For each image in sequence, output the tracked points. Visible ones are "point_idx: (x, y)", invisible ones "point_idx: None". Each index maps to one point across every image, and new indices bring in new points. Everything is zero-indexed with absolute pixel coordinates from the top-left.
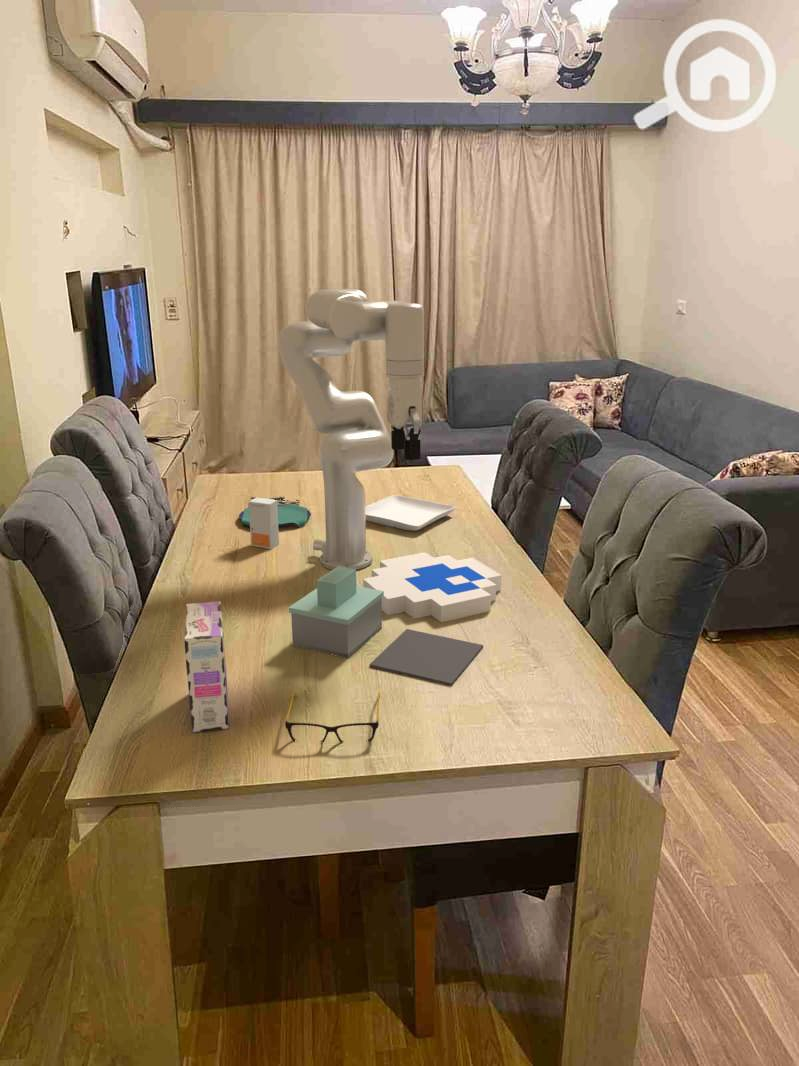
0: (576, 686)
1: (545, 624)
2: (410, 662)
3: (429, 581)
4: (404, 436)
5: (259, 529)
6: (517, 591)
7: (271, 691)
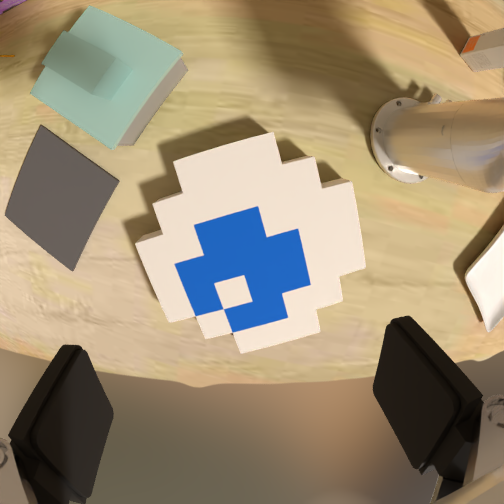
0: (19, 325)
1: (132, 353)
2: (38, 175)
3: (236, 246)
4: (405, 436)
5: (481, 40)
6: (232, 356)
7: (28, 30)
